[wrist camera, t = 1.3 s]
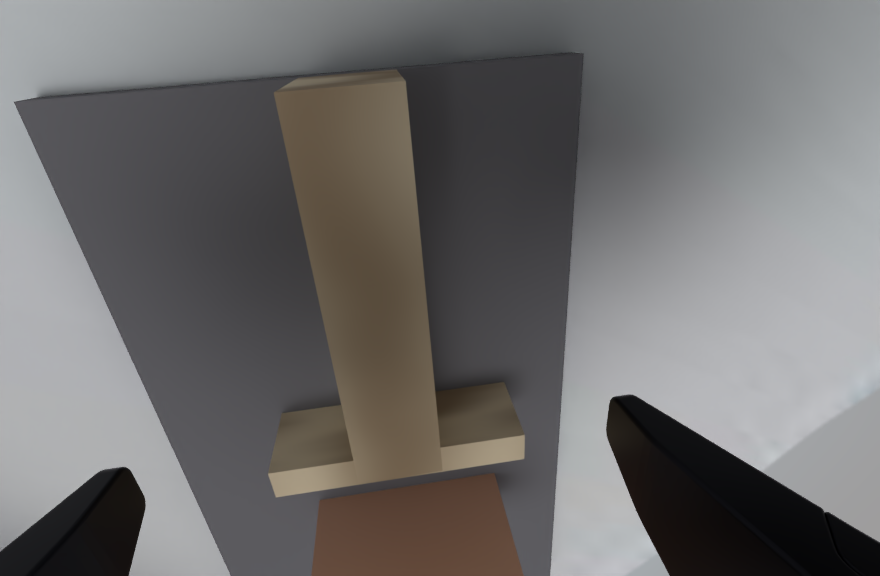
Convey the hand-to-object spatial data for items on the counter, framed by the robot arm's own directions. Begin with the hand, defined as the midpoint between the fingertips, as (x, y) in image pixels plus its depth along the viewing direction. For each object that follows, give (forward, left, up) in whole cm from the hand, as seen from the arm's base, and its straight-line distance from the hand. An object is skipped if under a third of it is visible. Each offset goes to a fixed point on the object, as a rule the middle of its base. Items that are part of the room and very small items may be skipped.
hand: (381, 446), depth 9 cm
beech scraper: (0, 0, -9) cm, 9 cm away
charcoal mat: (+1, +8, -10) cm, 12 cm away
